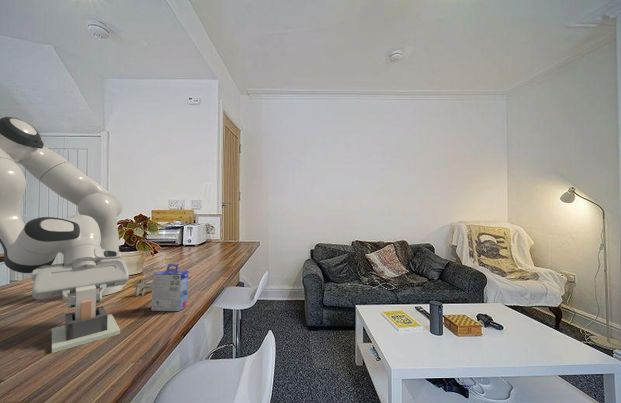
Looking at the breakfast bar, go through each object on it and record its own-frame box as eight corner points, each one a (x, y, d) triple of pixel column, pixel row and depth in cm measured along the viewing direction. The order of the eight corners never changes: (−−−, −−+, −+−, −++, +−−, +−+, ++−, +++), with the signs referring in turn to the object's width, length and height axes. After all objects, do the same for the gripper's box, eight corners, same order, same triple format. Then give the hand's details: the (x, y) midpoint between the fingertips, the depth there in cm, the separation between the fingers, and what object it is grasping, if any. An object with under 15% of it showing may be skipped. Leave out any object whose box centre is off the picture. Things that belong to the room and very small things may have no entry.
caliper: (136, 297, 96) (137, 281, 96) (135, 297, 97) (135, 280, 97) (188, 284, 113) (188, 270, 113) (187, 283, 114) (187, 269, 114)
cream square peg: (74, 324, 69) (75, 287, 69) (93, 320, 72) (94, 284, 72) (75, 331, 66) (76, 292, 66) (95, 326, 68) (96, 289, 69)
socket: (51, 331, 70) (52, 313, 70) (111, 317, 79) (112, 301, 79) (51, 353, 60) (52, 331, 60) (120, 333, 69) (120, 315, 69)
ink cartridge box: (188, 305, 89) (189, 263, 89) (180, 311, 83) (181, 267, 84) (160, 304, 89) (161, 263, 89) (150, 311, 84) (151, 267, 84)
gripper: (32, 260, 67) (28, 308, 60) (126, 251, 81) (132, 289, 74) (32, 273, 70) (28, 321, 63) (123, 262, 85) (128, 300, 78)
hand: (85, 303), depth 69 cm, fingers closed on cream square peg, 4 cm apart
